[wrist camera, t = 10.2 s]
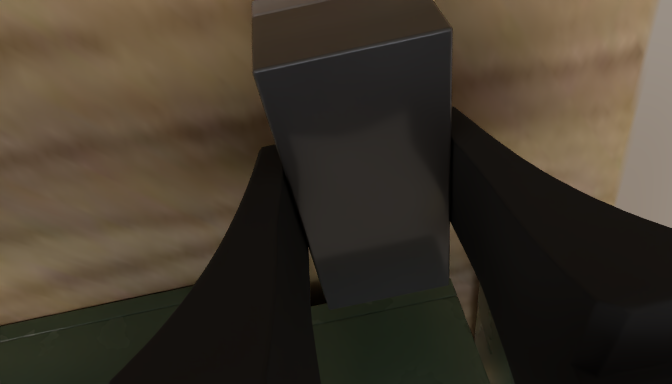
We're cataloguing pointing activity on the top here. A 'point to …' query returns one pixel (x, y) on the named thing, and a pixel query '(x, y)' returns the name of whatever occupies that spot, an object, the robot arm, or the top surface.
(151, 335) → the cabinet
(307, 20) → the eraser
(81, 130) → the top surface
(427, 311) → the drawer
